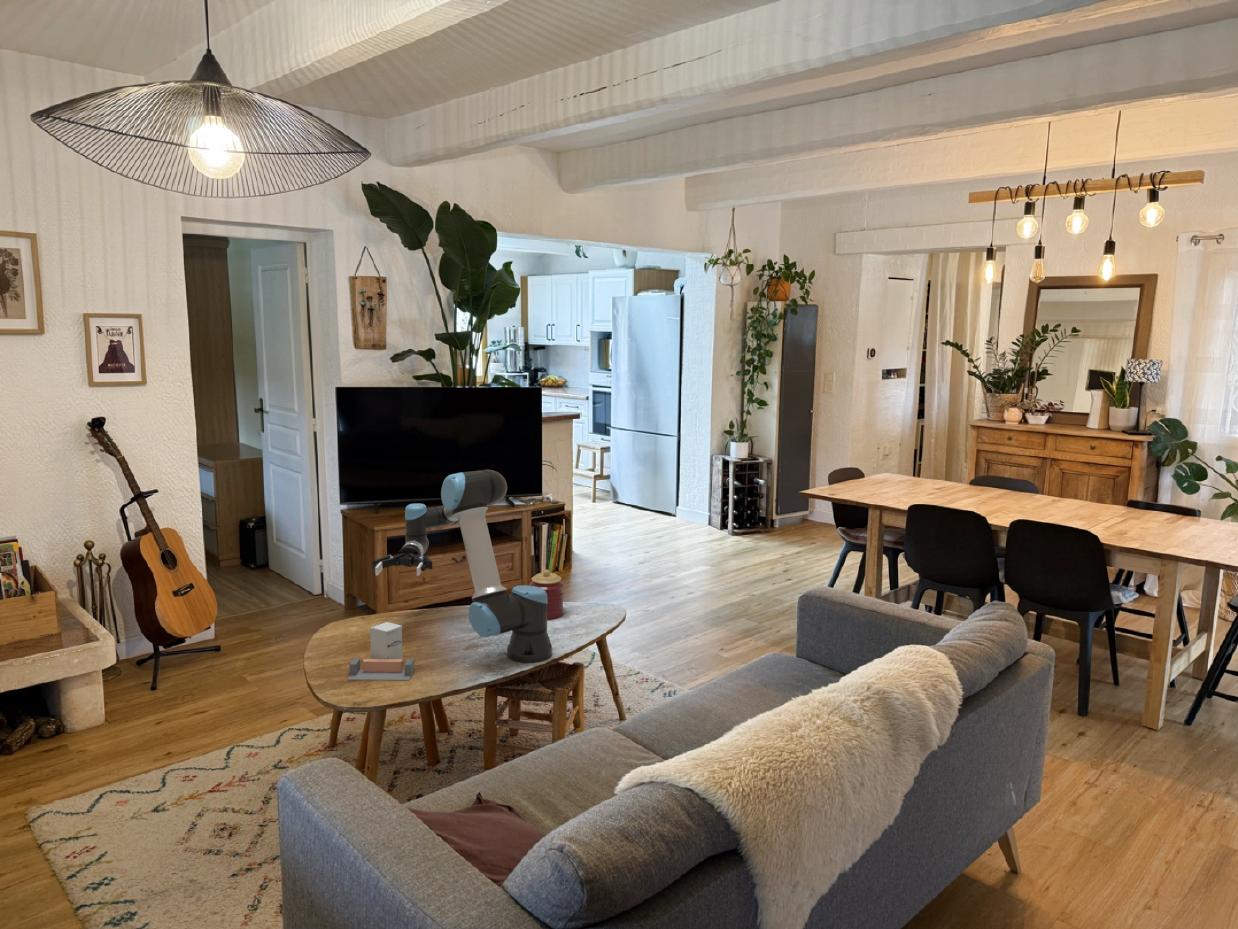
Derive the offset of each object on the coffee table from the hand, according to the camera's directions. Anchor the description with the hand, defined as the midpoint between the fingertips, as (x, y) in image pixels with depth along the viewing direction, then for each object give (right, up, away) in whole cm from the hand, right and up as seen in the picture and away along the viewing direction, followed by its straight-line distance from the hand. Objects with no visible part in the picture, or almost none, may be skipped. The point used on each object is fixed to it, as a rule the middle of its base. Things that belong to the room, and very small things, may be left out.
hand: (397, 571), depth 278 cm
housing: (-1, -31, -14) cm, 34 cm away
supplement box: (-2, -29, -5) cm, 30 cm away
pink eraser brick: (-1, -30, -11) cm, 32 cm away
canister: (+45, -22, +44) cm, 67 cm away
